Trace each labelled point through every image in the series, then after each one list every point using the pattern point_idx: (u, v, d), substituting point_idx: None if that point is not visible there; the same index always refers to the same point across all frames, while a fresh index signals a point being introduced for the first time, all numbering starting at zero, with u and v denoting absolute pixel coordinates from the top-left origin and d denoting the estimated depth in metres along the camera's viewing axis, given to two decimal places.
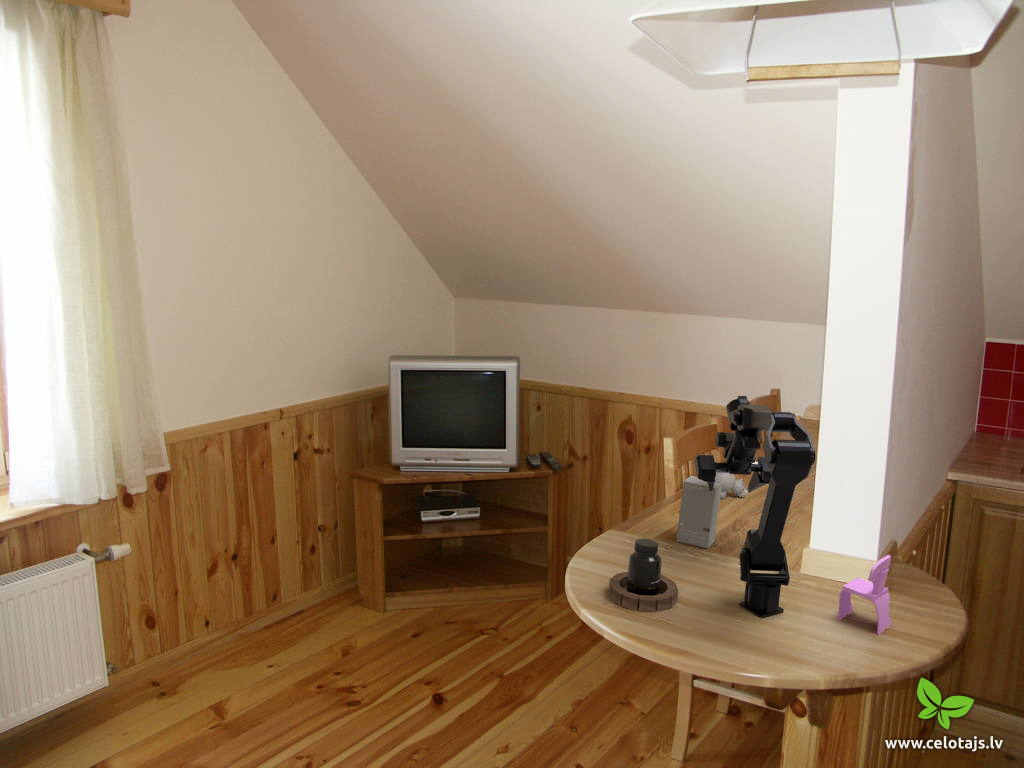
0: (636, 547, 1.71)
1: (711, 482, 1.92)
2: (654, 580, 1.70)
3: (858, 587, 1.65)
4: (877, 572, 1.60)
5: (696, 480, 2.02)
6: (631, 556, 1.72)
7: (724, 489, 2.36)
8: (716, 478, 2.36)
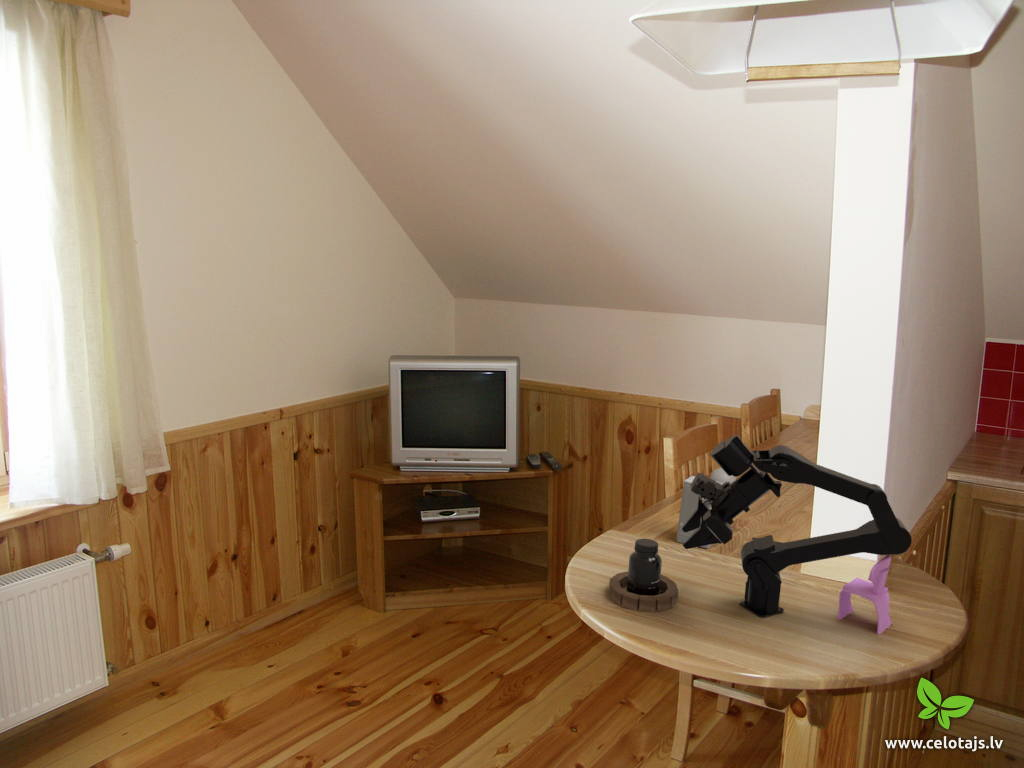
0: (636, 547, 1.71)
1: None
2: (654, 580, 1.70)
3: (858, 587, 1.65)
4: (877, 572, 1.60)
5: None
6: (631, 556, 1.72)
7: None
8: (716, 478, 2.36)
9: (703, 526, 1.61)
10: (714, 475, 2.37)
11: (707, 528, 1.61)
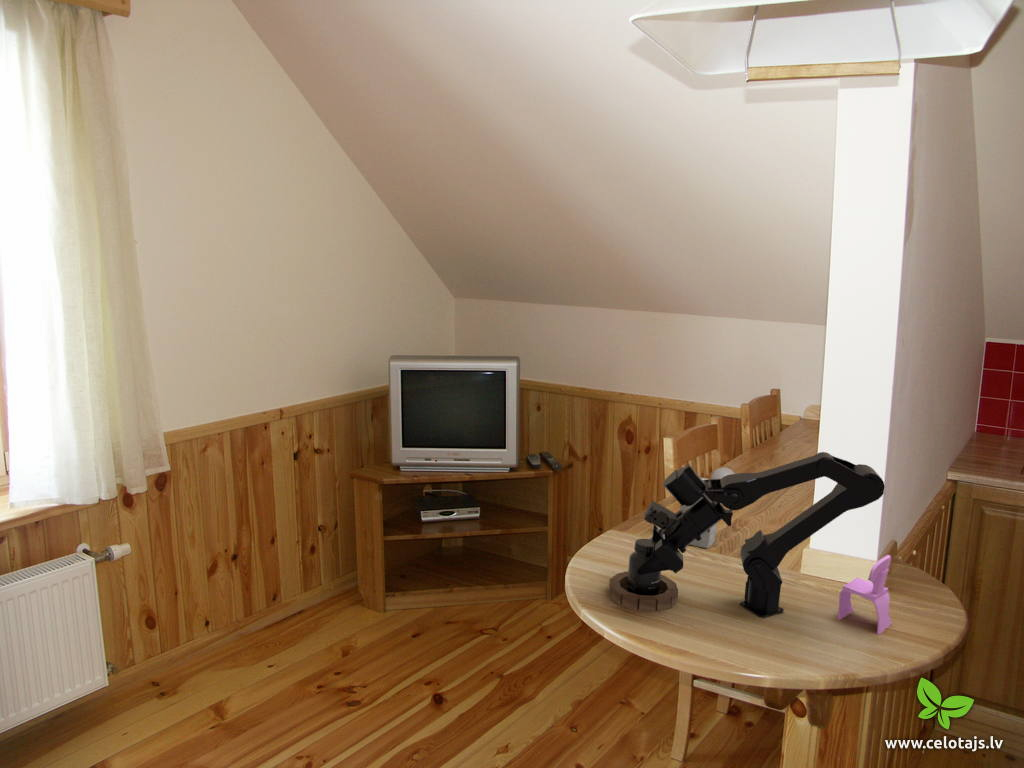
0: (636, 547, 1.71)
1: None
2: (654, 580, 1.70)
3: (858, 587, 1.65)
4: (877, 572, 1.60)
5: None
6: (631, 556, 1.72)
7: None
8: (717, 478, 2.36)
9: (655, 553, 1.64)
10: (714, 475, 2.37)
11: (659, 555, 1.64)
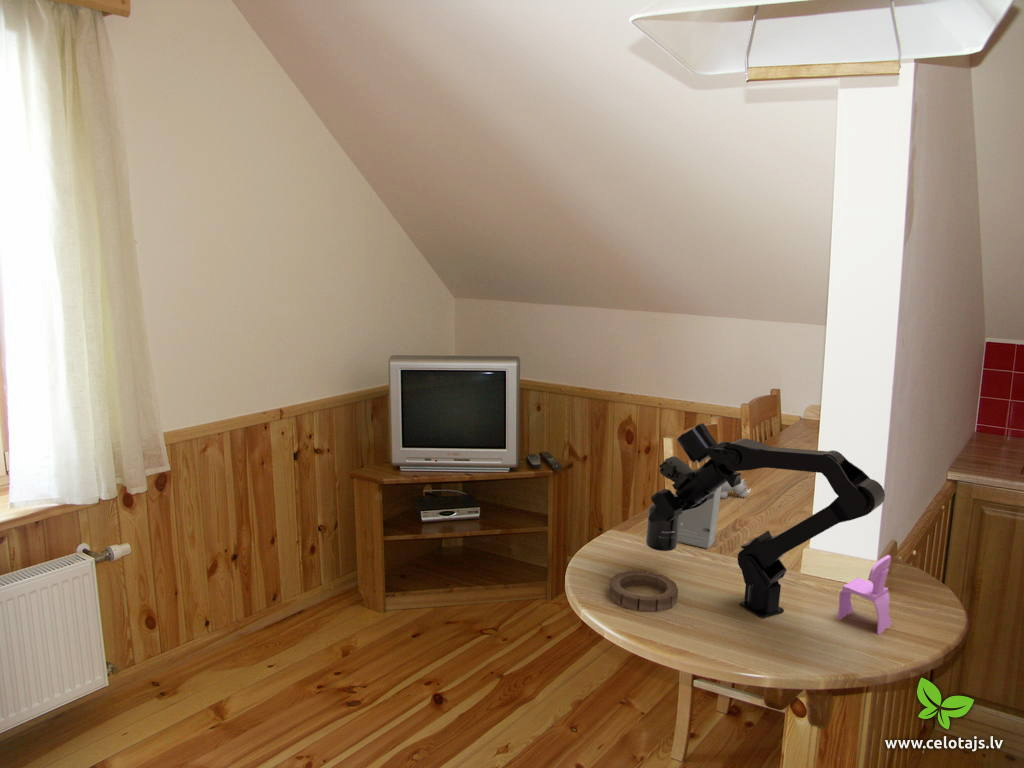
0: None
1: None
2: (664, 530, 1.79)
3: (858, 587, 1.65)
4: (877, 572, 1.60)
5: None
6: None
7: (725, 489, 2.36)
8: None
9: None
10: None
11: None
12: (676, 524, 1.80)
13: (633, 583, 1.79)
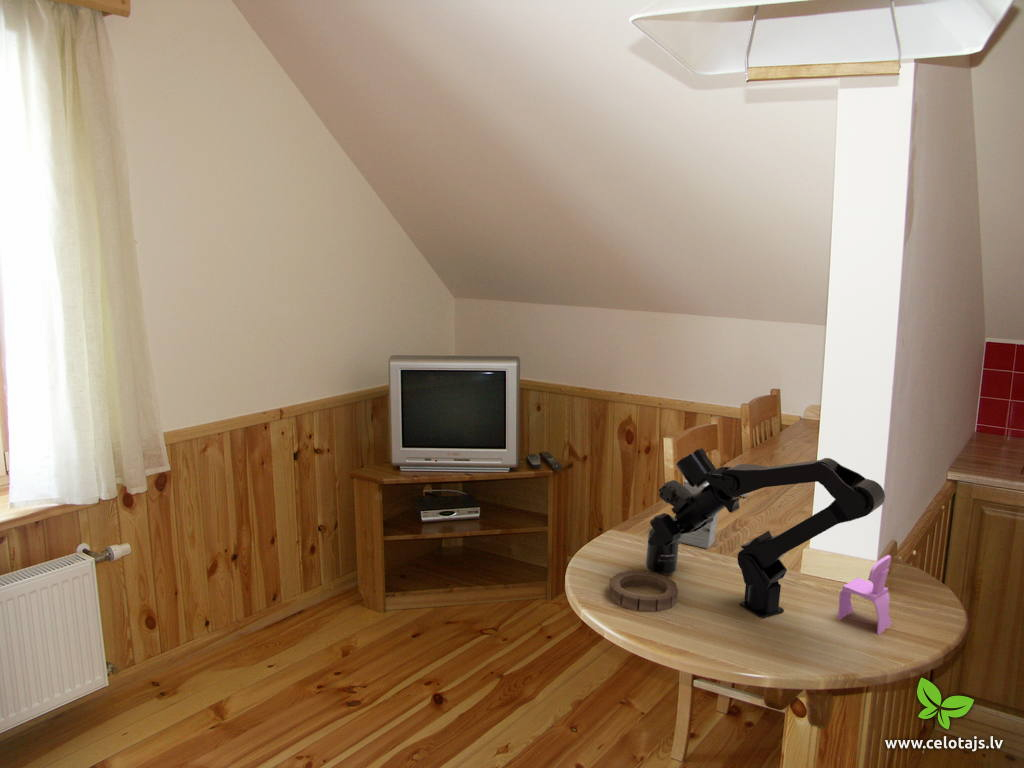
0: None
1: None
2: (664, 553, 1.81)
3: (858, 587, 1.65)
4: (877, 572, 1.60)
5: None
6: None
7: None
8: None
9: None
10: None
11: None
12: (675, 547, 1.82)
13: (633, 583, 1.79)
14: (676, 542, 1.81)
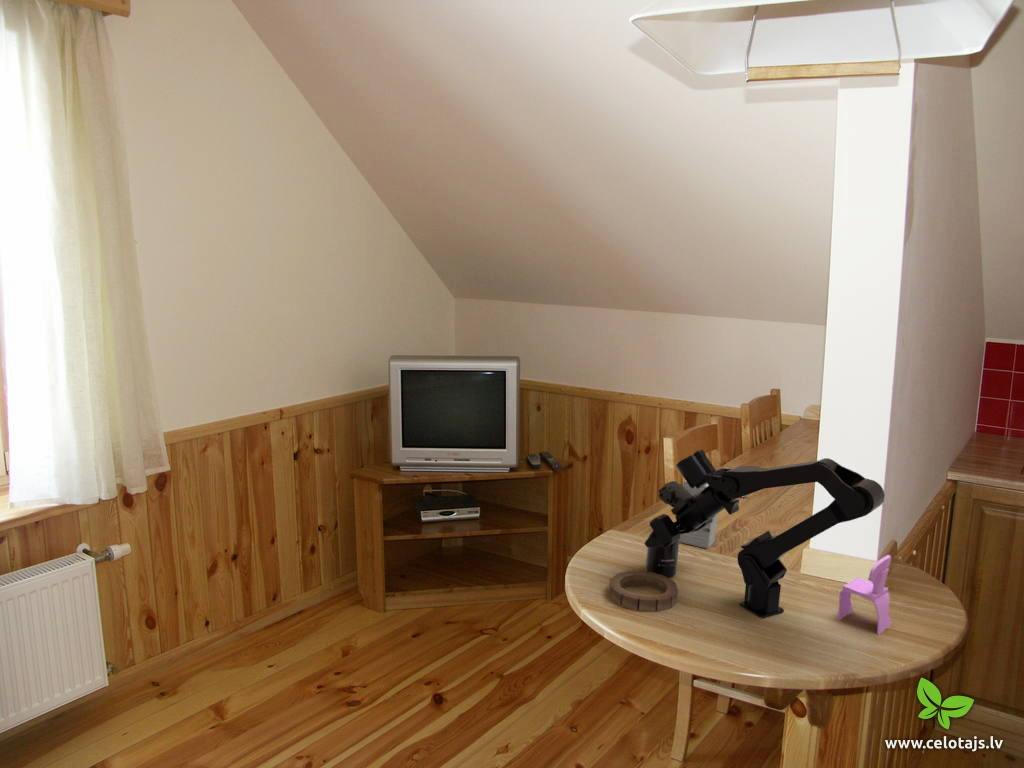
0: None
1: None
2: (664, 558, 1.81)
3: (858, 587, 1.65)
4: (877, 572, 1.60)
5: None
6: None
7: None
8: None
9: None
10: None
11: None
12: (675, 552, 1.82)
13: (633, 583, 1.79)
14: (676, 547, 1.82)
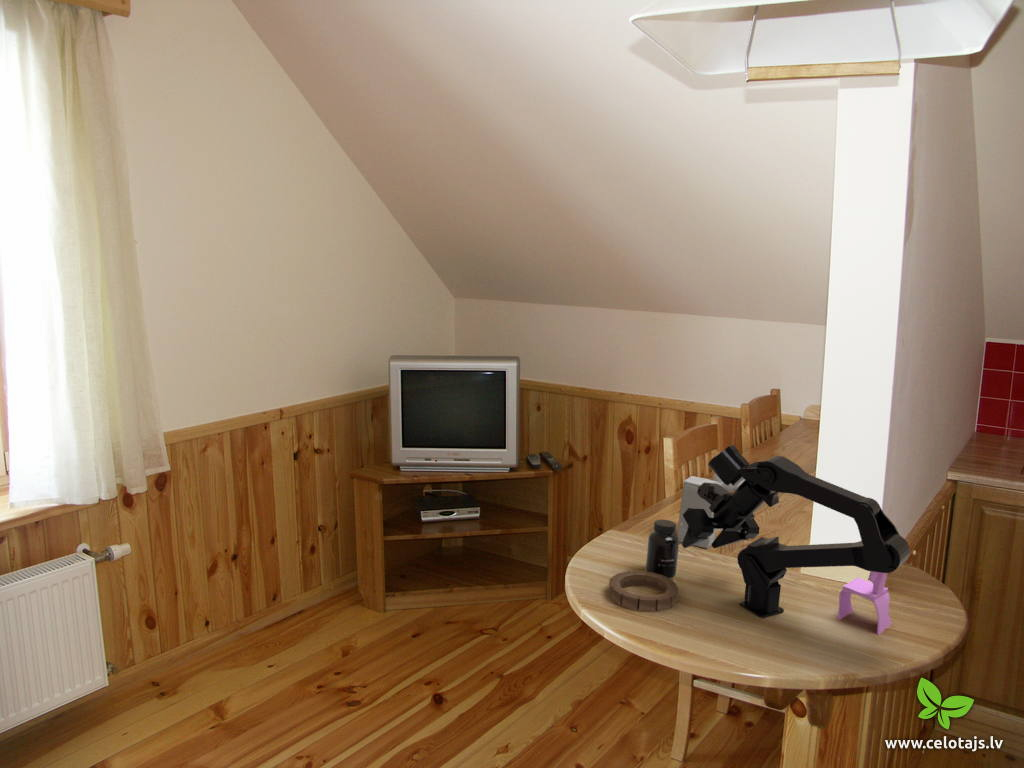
0: (654, 525, 1.84)
1: (702, 540, 1.70)
2: (664, 558, 1.81)
3: (858, 587, 1.65)
4: (877, 572, 1.60)
5: (697, 480, 2.02)
6: None
7: (727, 489, 2.36)
8: (719, 478, 2.36)
9: None
10: (716, 475, 2.37)
11: None
12: (675, 552, 1.82)
13: (633, 583, 1.79)
14: (676, 547, 1.82)
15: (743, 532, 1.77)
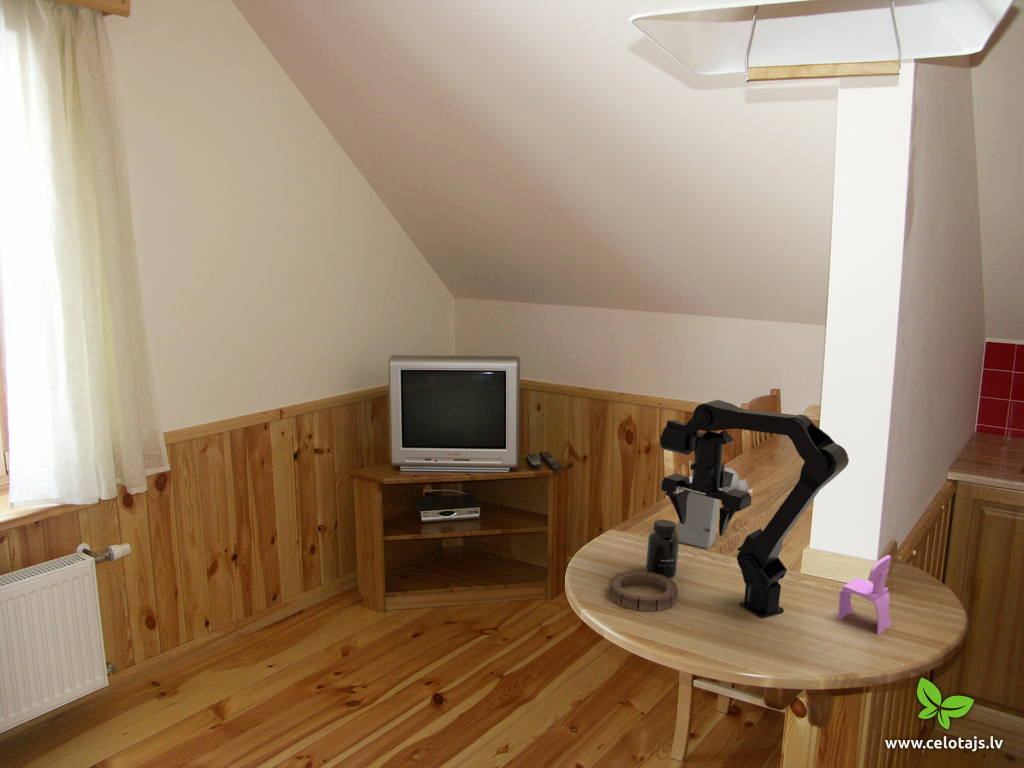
0: (654, 525, 1.84)
1: (674, 499, 1.78)
2: (664, 558, 1.81)
3: (858, 587, 1.65)
4: (877, 572, 1.60)
5: None
6: None
7: (727, 489, 2.36)
8: None
9: None
10: None
11: None
12: (675, 552, 1.82)
13: (633, 583, 1.79)
14: (676, 547, 1.82)
15: None
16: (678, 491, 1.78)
